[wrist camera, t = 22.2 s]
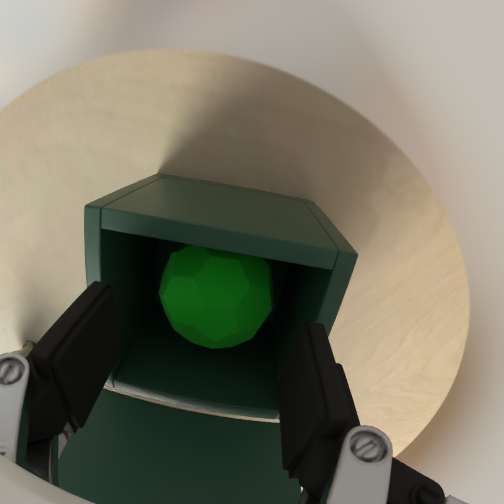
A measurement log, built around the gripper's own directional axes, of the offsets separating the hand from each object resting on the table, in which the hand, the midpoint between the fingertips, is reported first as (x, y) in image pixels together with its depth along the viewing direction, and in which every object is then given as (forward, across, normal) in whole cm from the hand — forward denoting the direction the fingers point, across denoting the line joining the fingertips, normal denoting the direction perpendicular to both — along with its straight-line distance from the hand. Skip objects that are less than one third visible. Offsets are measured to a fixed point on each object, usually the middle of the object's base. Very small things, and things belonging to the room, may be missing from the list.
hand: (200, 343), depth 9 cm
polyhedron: (+6, 0, 0) cm, 6 cm away
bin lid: (-4, 0, +4) cm, 6 cm away
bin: (+8, 0, 0) cm, 8 cm away
